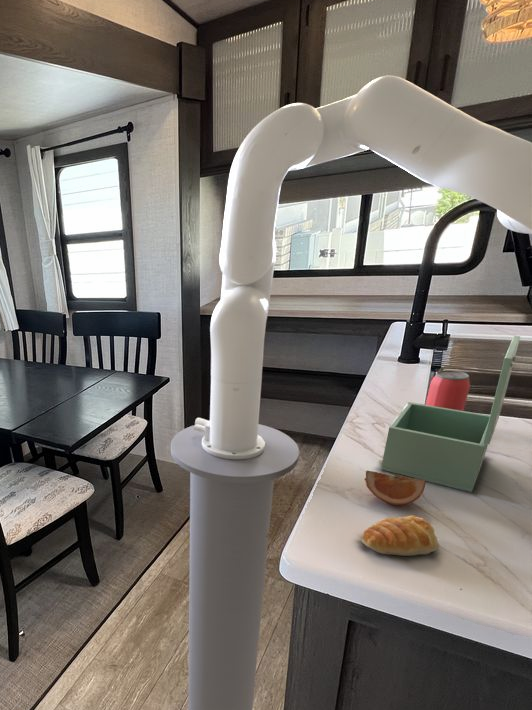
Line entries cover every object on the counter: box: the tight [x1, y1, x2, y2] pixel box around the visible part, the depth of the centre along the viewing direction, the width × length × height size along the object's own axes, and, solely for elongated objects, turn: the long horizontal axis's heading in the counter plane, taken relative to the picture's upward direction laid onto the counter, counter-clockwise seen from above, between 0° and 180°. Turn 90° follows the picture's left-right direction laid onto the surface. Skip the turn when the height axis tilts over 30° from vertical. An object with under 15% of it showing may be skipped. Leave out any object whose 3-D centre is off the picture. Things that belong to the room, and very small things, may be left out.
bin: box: [380, 401, 490, 493], centre depth 87 cm, size 14×15×9 cm
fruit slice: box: [364, 470, 426, 506], centre depth 78 cm, size 8×7×5 cm
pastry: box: [361, 514, 439, 557], centre depth 69 cm, size 9×7×4 cm
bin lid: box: [483, 335, 532, 445], centre depth 76 cm, size 14×15×6 cm
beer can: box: [425, 369, 471, 411], centre depth 99 cm, size 7×7×12 cm
